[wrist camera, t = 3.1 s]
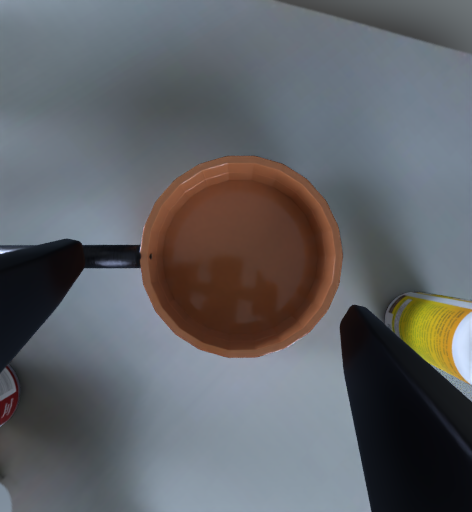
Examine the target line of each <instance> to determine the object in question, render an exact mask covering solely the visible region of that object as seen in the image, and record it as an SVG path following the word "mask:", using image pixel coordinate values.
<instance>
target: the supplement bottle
mask: <svg viewBox="0 0 472 512" xmlns="http://www.w3.org/2000/svg"><path fill="white" fill-rule="evenodd" d="M385 325H386V326H387V327H388V328H390V329H391V330H392V331H393V332H394V333H395V334H396V335H397V336H399V337H400V338H401V339H402V340H403V341H404V342H405V343H406V344H407V345H409V346H410V347H411V348H412V349H413V350H414V351H415V352H416V353H418V354H419V355H420V356H421V357H422V358H423V359H424V360H425V361H426V362H428V363H430V364H432V365H434V366H435V367H437V368H439V369H441V370H443V371H445V372H447V373H449V374H451V375H453V376H455V377H457V378H458V379H460V380H462V381H464V382H466V383H468V384H470V385H472V300H466V299H460V298H455V297H448V296H443V295H436V294H430V293H424V292H408V293H405V294H402V295H400V296H398V297H397V298H396V299H394V300H393V301H392V302H391V304H390V305H389V307H388V309H387V311H386V314H385Z"/></svg>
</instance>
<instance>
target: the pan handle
mask: <svg viewBox="0 0 472 512" xmlns="http://www.w3.org/2000/svg"><path fill="white" fill-rule="evenodd" d="M32 246H36V245H0V254H1V253H6V252H10V251H14V250H19V249H23V248H27V247H32ZM82 246H83V252H84V258H85V266H84V268H141V265H140V259H141V257H142V256H141V253H140V248H141V245H82ZM149 257H150V259H152V254H150V256H149Z"/></svg>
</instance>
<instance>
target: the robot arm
mask: <svg viewBox="0 0 472 512" xmlns="http://www.w3.org/2000/svg"><path fill="white" fill-rule="evenodd" d="M84 266H85V258H84V252H83V246H82V243H81V242H79V241H76V240H72V239H62V240H58V241H54V242H49V243H45V244H41V245H36V246H32V247H27V248H23V249H19V250H14V251H10V252H6V253H1V254H0V373H1V372H2V371H3V370H4V369H5V367H6V366H7V365H8V364H9V363H10V362H11V360H12V359H13V358H14V357H15V356H16V355H17V353H18V352H19V351H20V350H21V349H22V348H23V346H24V345H25V344H26V343H27V342H28V341H29V339H30V338H31V337H32V336H33V335H34V334H35V332H36V331H37V330H38V329H39V328H40V327H41V325H42V324H43V323H44V322H45V321H46V320H47V318H48V317H49V316H50V315H51V314H52V313H53V311H54V310H55V309H56V308H57V306H58V305H59V304H60V302H61V301H62V300H63V298H64V297H65V295H66V294H67V292H68V291H69V289H70V288H71V287H72V285H73V284H74V282H75V281H76V279H77V278H78V276H79V275H80V273H81V272H82V271H83V269H84ZM340 336H341V348H342V359H343V369H344V376H345V381H346V386H347V391H348V396H349V401H350V406H351V411H352V416H353V421H354V426H355V431H356V436H357V441H358V446H359V451H360V456H361V461H362V466H363V471H364V476H365V481H366V486H367V491H368V496H369V501H370V506H371V511H372V512H472V402H471V401H470V400H469V399H468V398H467V397H466V396H465V395H463V394H462V393H461V392H460V391H459V390H458V389H457V388H456V387H454V386H453V385H452V384H451V383H450V382H449V381H448V380H447V379H446V378H444V377H443V376H442V375H441V374H440V373H439V372H438V371H437V370H435V369H434V368H433V367H432V366H431V365H430V364H429V363H428V362H426V361H425V360H424V359H423V358H422V357H421V356H420V355H419V354H418V353H416V352H415V351H414V350H413V349H412V348H411V347H410V346H409V345H407V344H406V343H405V342H404V341H403V340H402V339H401V338H400V337H399V336H397V335H396V334H395V333H394V332H393V331H392V330H391V329H390V328H388V327H387V326H386V325H385V324H384V323H383V322H382V321H381V320H379V319H378V318H377V317H376V316H375V315H374V314H373V313H372V312H371V311H369V310H368V309H367V308H366V307H363V306H358V305H352V306H351V307H350V308H349V309H348V311H347V313H346V314H345V316H344V318H343V319H342V321H341V323H340Z"/></svg>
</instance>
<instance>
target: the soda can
mask: <svg viewBox="0 0 472 512" xmlns="http://www.w3.org/2000/svg"><path fill="white" fill-rule="evenodd" d="M19 400H20V383H19V380H18V377H17V375H16V373H15V371H14V370H13V369H12V367H11V366H10V365H9V364H8V365H7V366H6V367H5V369H4V370H3V371H2V372H1V373H0V426H2V425H3V424H4V423H5V422H7V421H8V420H9V419H10V418H11V416H12V415H13V414H14V412H15V410H16V408H17V406H18V403H19Z"/></svg>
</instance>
